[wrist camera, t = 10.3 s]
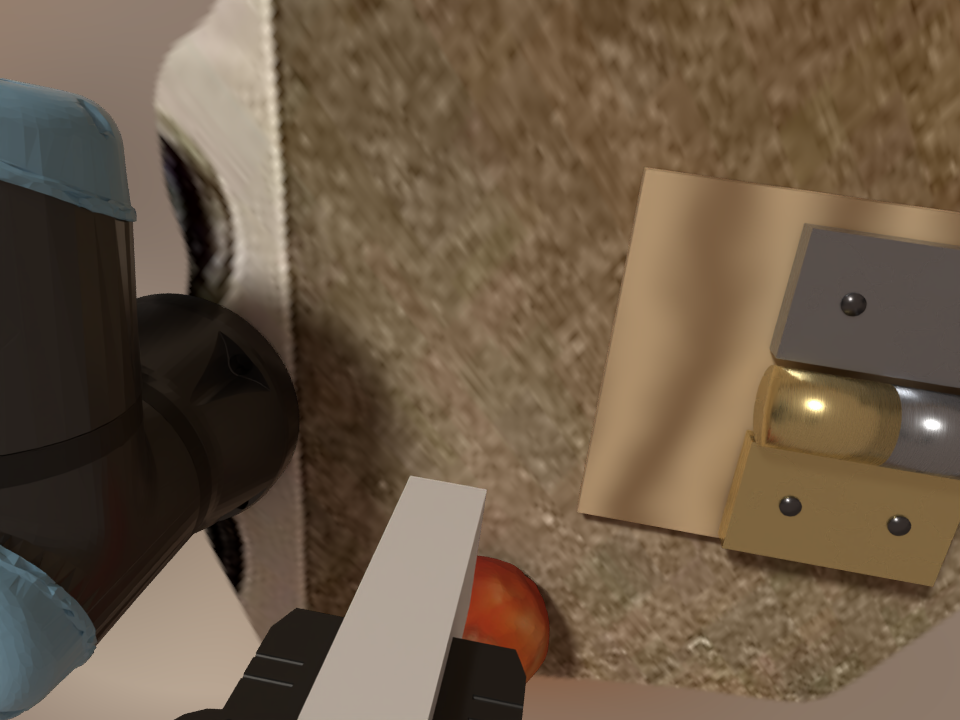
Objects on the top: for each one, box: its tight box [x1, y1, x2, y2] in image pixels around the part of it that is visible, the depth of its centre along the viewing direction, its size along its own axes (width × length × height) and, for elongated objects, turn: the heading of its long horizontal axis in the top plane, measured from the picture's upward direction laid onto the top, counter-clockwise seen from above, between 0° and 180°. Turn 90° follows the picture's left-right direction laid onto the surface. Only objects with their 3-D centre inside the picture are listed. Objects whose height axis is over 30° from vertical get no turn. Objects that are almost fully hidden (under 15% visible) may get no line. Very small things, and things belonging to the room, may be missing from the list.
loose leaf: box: [718, 365, 960, 587], centre depth 42 cm, size 12×12×4 cm
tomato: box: [462, 556, 550, 683], centre depth 48 cm, size 9×9×8 cm
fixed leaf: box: [769, 223, 960, 480], centre depth 39 cm, size 12×12×4 cm
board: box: [577, 167, 960, 538], centre depth 43 cm, size 22×21×1 cm
